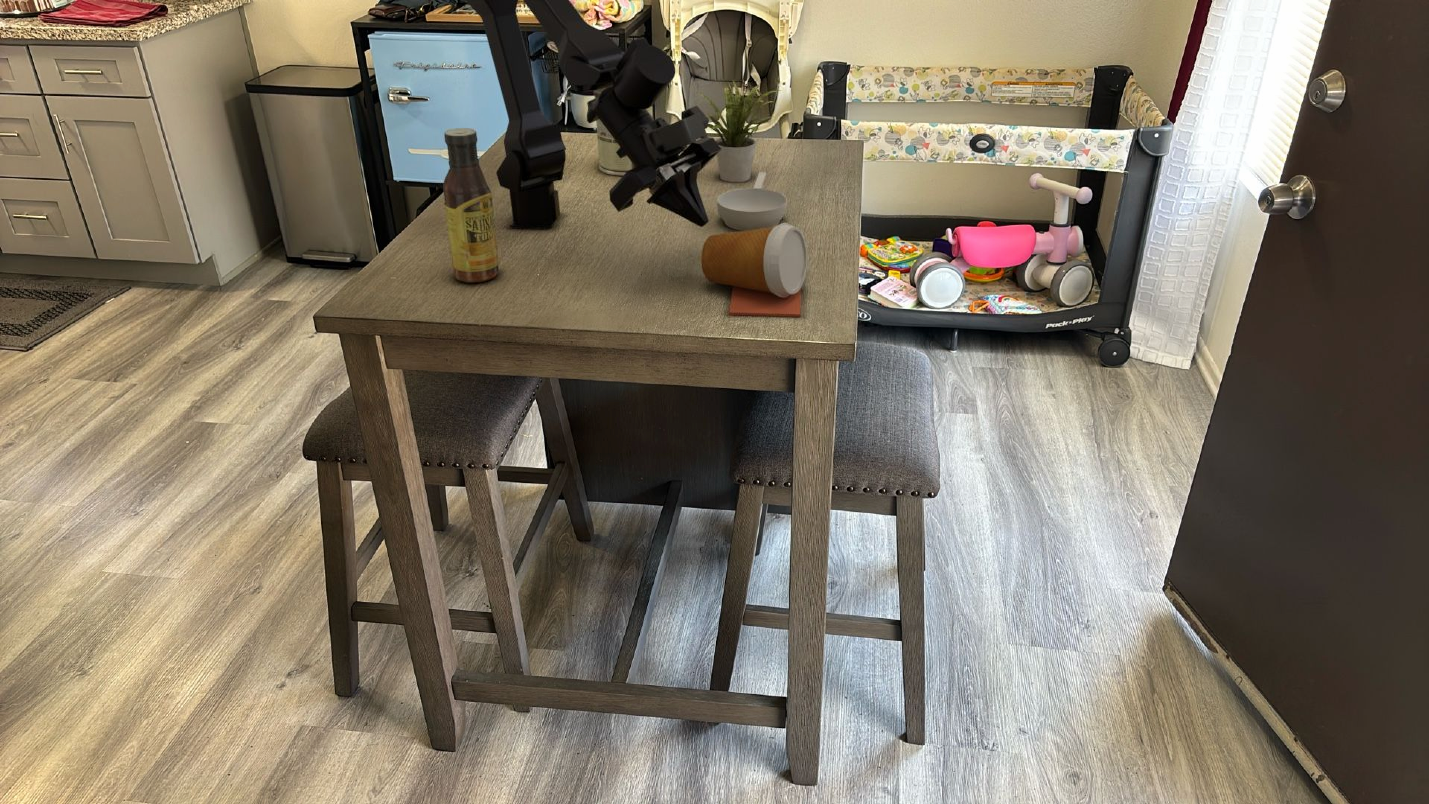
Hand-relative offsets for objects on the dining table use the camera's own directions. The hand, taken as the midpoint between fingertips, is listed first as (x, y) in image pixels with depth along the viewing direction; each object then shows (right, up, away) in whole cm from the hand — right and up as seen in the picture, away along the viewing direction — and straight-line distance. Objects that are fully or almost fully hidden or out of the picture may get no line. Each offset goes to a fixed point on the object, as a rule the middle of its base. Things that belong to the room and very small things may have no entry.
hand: (705, 224), depth 130 cm
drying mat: (+8, -9, +1) cm, 12 cm away
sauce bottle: (-32, -6, +7) cm, 33 cm away
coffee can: (-14, +19, +47) cm, 53 cm away
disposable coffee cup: (+1, -4, +2) cm, 5 cm away
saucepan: (+8, +6, +27) cm, 29 cm away
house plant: (+6, +15, +42) cm, 45 cm away
